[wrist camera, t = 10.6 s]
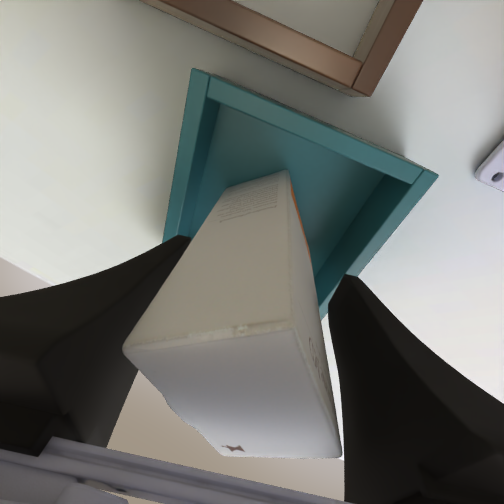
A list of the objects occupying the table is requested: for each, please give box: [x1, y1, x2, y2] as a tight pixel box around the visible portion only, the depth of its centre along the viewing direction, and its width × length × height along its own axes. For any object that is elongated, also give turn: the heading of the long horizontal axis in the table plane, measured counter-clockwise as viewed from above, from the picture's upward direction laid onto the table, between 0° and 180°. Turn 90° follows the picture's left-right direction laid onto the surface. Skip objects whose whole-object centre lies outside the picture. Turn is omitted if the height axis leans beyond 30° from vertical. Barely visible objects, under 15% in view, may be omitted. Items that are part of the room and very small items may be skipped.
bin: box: [162, 68, 439, 320], centre depth 15 cm, size 12×13×4 cm
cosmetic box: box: [122, 170, 342, 459], centre depth 11 cm, size 6×4×12 cm
